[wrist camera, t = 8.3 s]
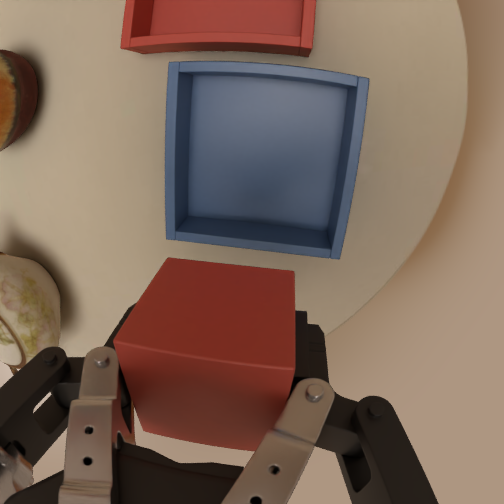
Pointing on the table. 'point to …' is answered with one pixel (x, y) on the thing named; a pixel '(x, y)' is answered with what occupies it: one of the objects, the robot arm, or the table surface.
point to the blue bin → (262, 155)
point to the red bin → (219, 26)
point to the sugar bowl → (26, 311)
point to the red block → (211, 352)
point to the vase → (15, 96)
